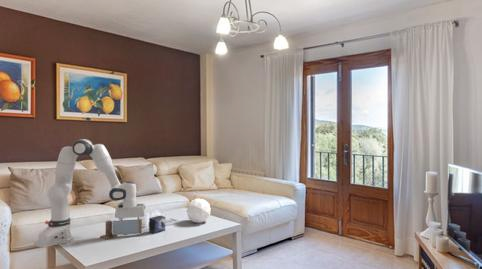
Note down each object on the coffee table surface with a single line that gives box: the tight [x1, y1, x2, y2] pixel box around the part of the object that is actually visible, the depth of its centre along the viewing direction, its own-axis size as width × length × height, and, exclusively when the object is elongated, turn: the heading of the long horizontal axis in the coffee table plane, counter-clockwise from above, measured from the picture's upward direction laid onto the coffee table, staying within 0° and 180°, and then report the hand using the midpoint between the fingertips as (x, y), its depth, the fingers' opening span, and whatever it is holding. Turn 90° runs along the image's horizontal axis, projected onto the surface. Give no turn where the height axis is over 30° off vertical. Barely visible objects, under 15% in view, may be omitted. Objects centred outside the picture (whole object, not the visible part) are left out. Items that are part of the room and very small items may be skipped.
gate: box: [111, 218, 143, 236], centre depth 235 cm, size 20×2×10 cm, turn 103°
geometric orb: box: [186, 198, 212, 224], centre depth 270 cm, size 19×20×20 cm
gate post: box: [99, 220, 118, 241], centre depth 232 cm, size 8×8×11 cm
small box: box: [148, 215, 166, 235], centre depth 246 cm, size 11×6×10 cm, turn 143°
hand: (130, 223), depth 237 cm, fingers open, 8 cm apart
